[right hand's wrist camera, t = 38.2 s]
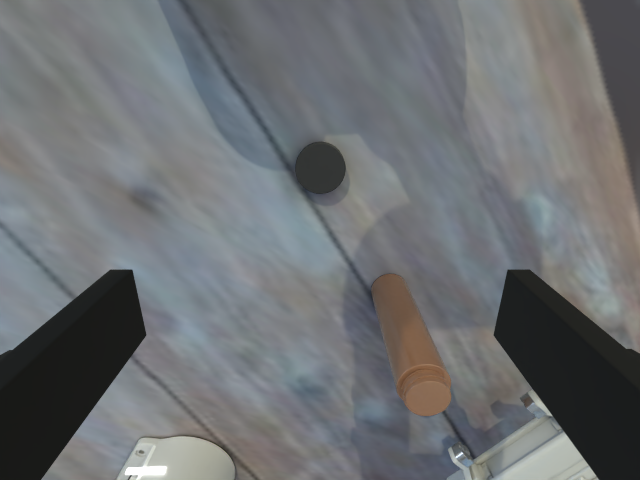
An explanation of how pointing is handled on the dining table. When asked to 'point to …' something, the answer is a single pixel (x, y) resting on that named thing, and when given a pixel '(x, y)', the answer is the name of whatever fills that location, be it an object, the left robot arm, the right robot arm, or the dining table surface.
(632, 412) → the right robot arm
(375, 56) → the dining table surface
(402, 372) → the bottle
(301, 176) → the lid
